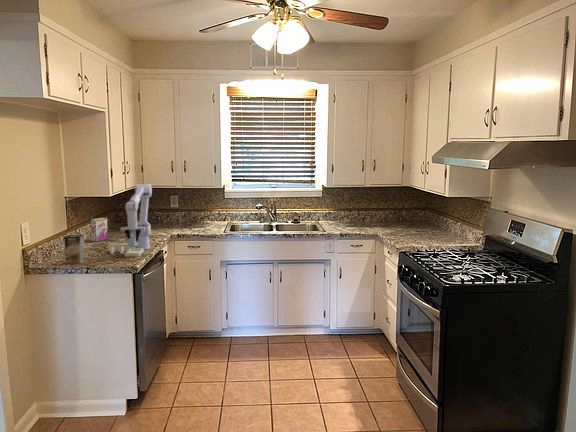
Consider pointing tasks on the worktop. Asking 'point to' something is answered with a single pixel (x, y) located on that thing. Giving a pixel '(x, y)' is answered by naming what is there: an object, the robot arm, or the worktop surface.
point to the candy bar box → (99, 229)
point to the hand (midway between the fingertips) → (133, 241)
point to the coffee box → (74, 248)
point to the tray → (134, 252)
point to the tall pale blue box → (132, 241)
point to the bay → (118, 247)
